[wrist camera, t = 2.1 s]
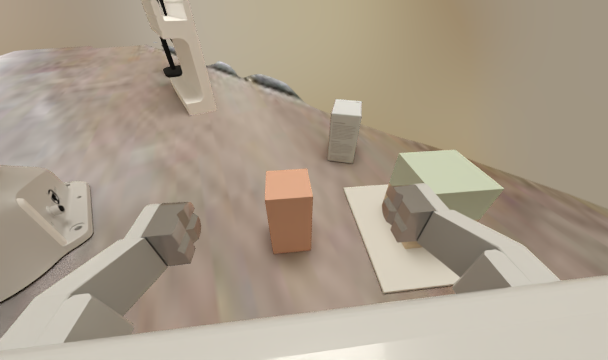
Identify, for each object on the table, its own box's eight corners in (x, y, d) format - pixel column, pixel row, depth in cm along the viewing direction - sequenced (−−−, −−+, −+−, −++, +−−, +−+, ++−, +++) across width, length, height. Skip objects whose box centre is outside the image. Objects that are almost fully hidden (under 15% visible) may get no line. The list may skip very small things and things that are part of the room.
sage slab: (417, 225, 25) (434, 194, 22) (389, 182, 31) (399, 153, 28) (479, 219, 26) (504, 188, 23) (440, 178, 32) (455, 149, 29)
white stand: (217, 110, 67) (186, -8, 49) (190, 115, 64) (146, -10, 46) (193, 83, 90) (166, -4, 72) (172, 86, 86) (139, -5, 69)
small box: (331, 142, 51) (335, 98, 45) (354, 145, 50) (362, 100, 44) (326, 161, 45) (330, 112, 39) (353, 164, 44) (361, 115, 38)
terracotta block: (273, 253, 28) (264, 200, 22) (273, 224, 32) (266, 171, 26) (310, 250, 29) (312, 196, 22) (306, 221, 33) (307, 168, 26)
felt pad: (383, 293, 24) (384, 292, 24) (343, 189, 38) (343, 187, 38) (525, 276, 26) (527, 274, 26) (437, 182, 40) (438, 180, 40)
